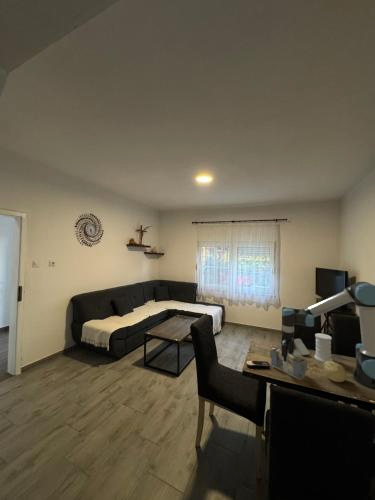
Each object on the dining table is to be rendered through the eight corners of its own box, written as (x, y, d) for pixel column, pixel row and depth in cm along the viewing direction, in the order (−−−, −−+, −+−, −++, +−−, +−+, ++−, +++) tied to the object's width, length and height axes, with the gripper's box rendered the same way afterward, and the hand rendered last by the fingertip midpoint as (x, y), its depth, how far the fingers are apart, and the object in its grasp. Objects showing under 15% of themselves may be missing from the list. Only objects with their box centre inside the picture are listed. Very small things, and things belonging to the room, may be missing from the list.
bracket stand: (307, 375, 140) (307, 359, 140) (300, 380, 135) (300, 363, 135) (276, 361, 158) (276, 347, 158) (269, 365, 153) (269, 350, 153)
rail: (302, 365, 141) (302, 358, 141) (298, 367, 138) (298, 360, 138) (278, 355, 154) (278, 348, 155) (275, 356, 152) (275, 350, 152)
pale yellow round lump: (320, 374, 142) (320, 358, 143) (337, 374, 142) (337, 358, 143) (331, 384, 131) (331, 367, 131) (350, 384, 131) (350, 367, 131)
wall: (308, 358, 172) (299, 340, 183) (310, 353, 166) (301, 335, 178) (288, 361, 172) (280, 343, 184) (290, 356, 167) (282, 338, 178)
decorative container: (312, 354, 170) (312, 332, 171) (328, 356, 167) (328, 334, 167) (317, 361, 159) (317, 337, 159) (334, 364, 156) (334, 339, 156)
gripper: (289, 327, 155) (289, 358, 154) (275, 332, 145) (275, 366, 144) (299, 330, 149) (299, 363, 148) (286, 335, 139) (286, 371, 138)
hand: (287, 364), depth 146 cm, fingers closed on rail, 4 cm apart
